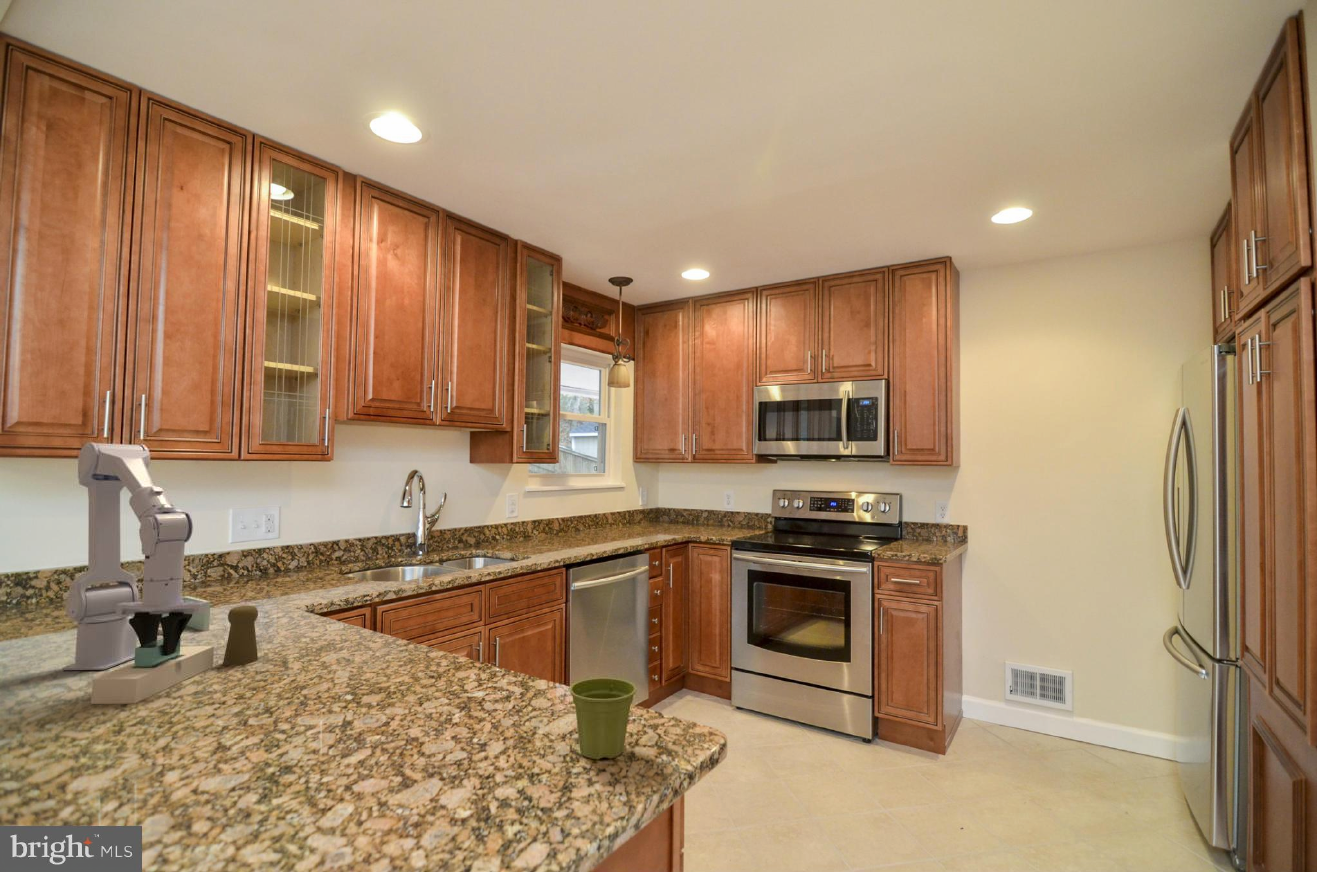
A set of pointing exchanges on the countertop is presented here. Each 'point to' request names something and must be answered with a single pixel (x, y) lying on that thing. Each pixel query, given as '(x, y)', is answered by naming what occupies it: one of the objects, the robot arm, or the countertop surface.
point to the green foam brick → (153, 654)
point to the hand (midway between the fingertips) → (159, 654)
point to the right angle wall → (196, 621)
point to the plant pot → (602, 715)
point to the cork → (241, 636)
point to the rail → (150, 677)
